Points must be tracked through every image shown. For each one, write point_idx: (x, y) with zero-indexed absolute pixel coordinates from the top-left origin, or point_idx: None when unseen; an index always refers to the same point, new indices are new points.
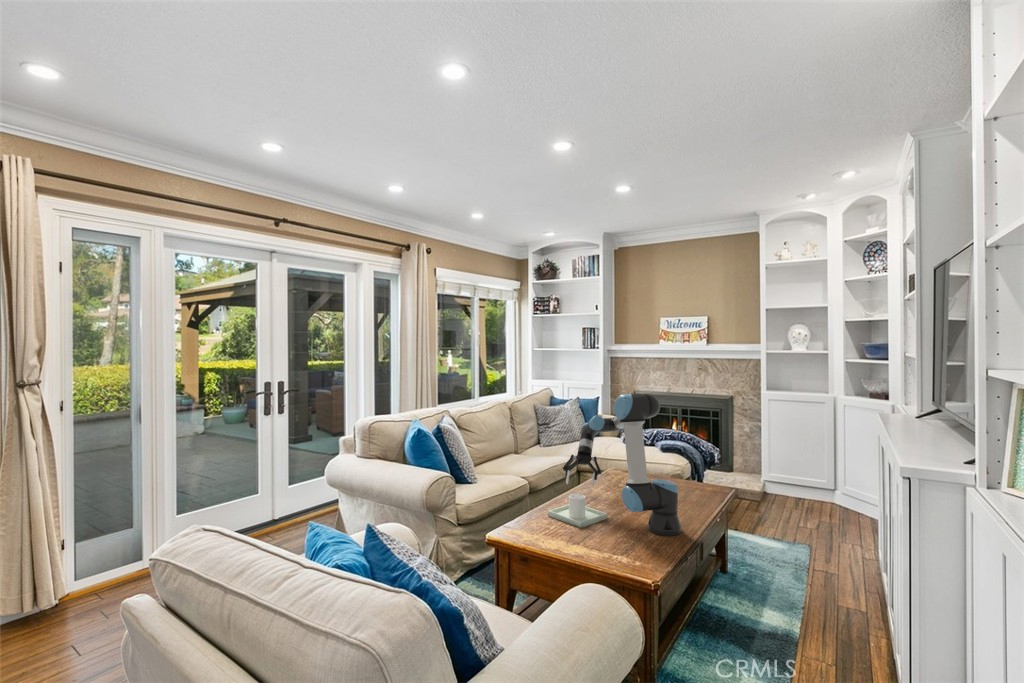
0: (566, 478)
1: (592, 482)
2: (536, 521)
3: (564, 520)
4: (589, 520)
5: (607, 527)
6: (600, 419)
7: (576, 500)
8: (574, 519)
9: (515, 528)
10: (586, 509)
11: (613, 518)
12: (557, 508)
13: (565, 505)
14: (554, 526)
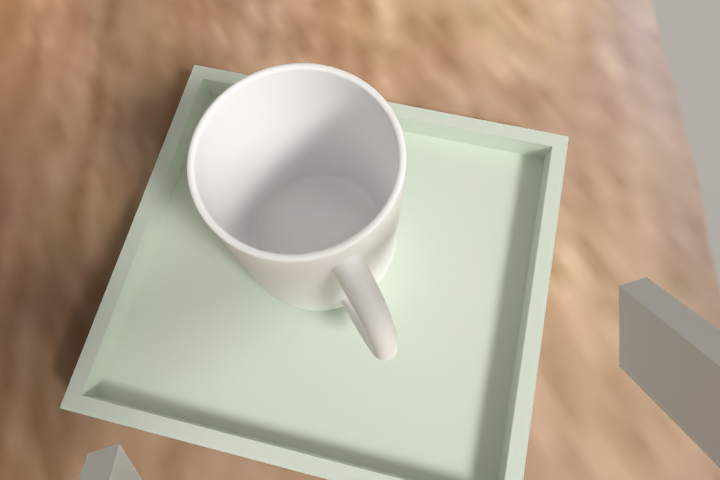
0: (688, 309)
1: (102, 472)
2: (540, 16)
3: None
4: (158, 163)
5: (28, 216)
6: None
7: (261, 83)
8: None
9: None
10: (323, 456)
11: (31, 450)
12: (539, 235)
13: (533, 365)
14: (380, 15)
